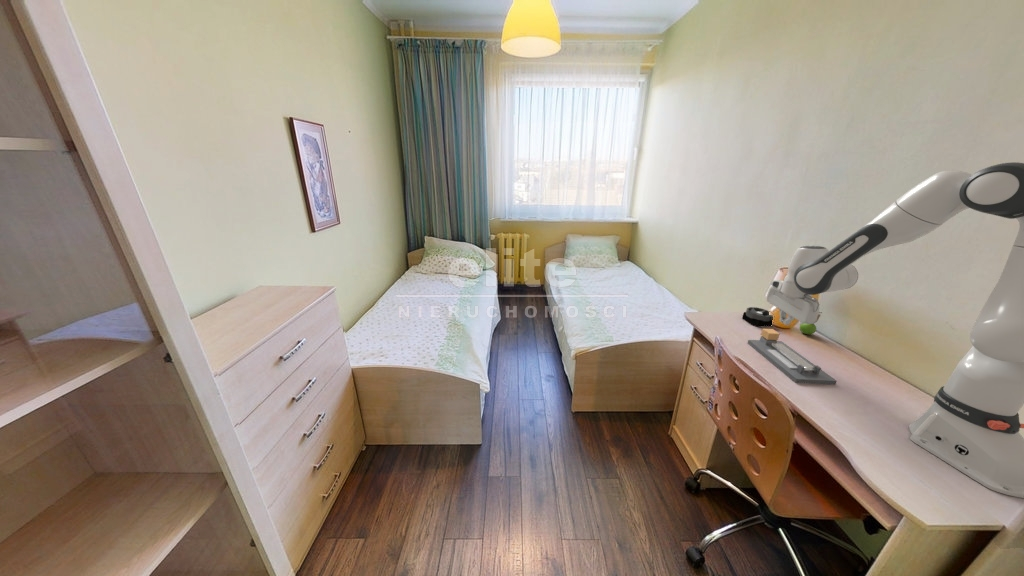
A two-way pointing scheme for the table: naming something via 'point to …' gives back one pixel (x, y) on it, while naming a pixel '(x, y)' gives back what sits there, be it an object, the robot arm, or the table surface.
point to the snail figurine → (809, 327)
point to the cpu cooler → (757, 317)
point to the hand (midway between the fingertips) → (784, 323)
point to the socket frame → (790, 363)
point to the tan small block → (770, 334)
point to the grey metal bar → (793, 357)
